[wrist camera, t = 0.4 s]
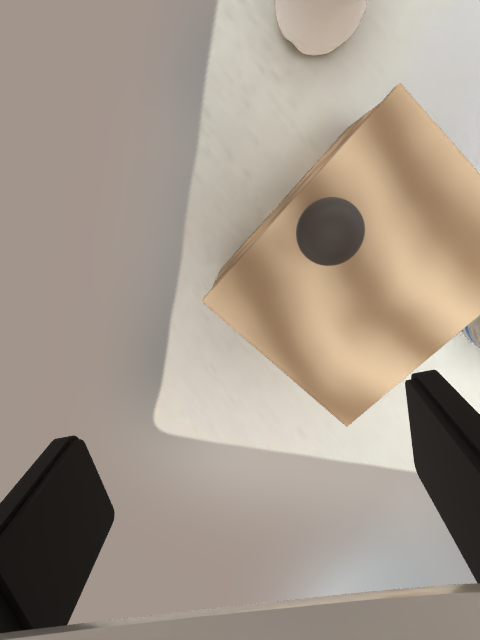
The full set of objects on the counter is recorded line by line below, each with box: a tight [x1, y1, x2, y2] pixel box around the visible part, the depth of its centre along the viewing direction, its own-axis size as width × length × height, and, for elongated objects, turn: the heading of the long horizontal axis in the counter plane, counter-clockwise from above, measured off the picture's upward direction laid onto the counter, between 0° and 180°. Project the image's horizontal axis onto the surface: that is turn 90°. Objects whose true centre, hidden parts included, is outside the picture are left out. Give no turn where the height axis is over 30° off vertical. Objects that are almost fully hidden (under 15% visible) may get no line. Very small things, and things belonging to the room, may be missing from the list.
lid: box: [202, 83, 480, 427], centre depth 23 cm, size 18×15×8 cm
